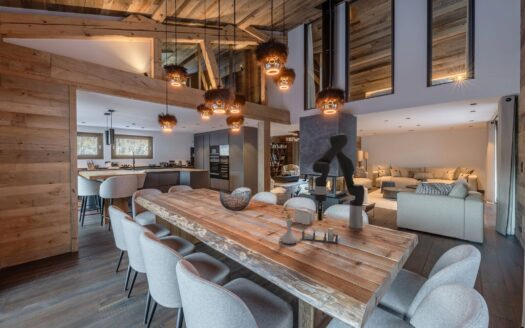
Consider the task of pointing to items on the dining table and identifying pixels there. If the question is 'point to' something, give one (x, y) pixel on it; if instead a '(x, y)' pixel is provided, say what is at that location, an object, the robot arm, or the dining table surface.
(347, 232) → the dining table surface
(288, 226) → the white tapered rounded piece
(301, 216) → the cable organizer
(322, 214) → the plug mustard
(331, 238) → the plug white
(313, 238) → the grey compartment rack
